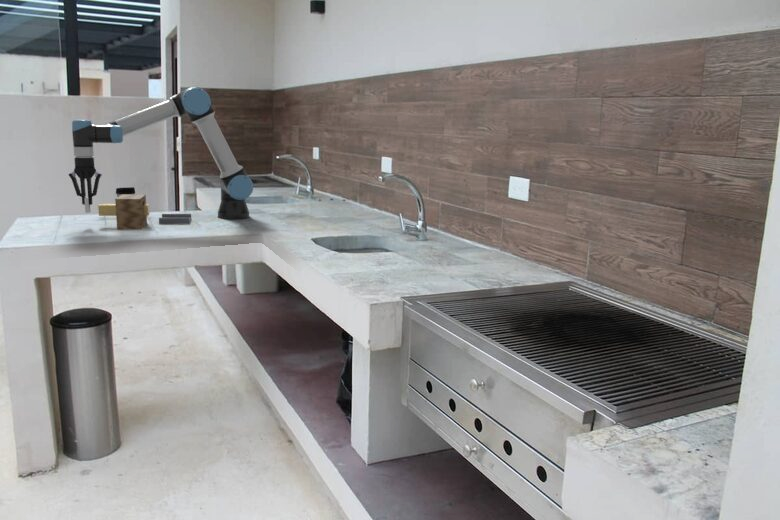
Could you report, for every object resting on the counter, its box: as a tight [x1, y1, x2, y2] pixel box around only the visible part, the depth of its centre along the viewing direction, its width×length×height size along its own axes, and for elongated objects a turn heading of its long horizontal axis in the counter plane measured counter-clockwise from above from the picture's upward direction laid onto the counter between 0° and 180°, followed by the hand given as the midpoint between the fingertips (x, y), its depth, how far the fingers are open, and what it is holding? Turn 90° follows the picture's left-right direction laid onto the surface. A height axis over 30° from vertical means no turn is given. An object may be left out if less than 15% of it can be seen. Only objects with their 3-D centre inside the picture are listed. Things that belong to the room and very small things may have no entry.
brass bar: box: [97, 203, 150, 217], centre depth 283 cm, size 20×4×4 cm, turn 103°
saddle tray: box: [158, 213, 192, 225], centre depth 300 cm, size 13×13×3 cm
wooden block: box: [114, 193, 148, 230], centre depth 284 cm, size 10×16×13 cm, turn 13°
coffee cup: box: [115, 186, 136, 198], centre depth 300 cm, size 8×8×15 cm
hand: (88, 212), depth 280 cm, fingers closed
